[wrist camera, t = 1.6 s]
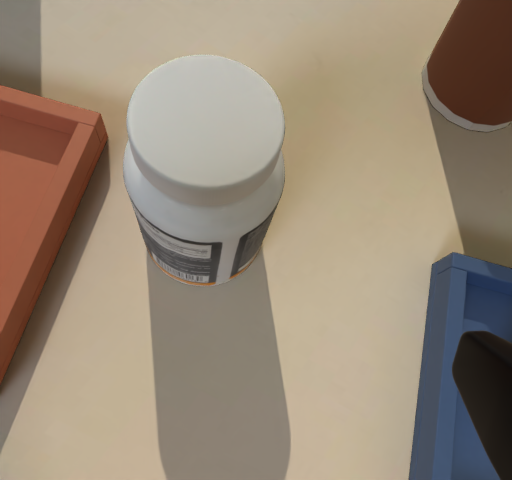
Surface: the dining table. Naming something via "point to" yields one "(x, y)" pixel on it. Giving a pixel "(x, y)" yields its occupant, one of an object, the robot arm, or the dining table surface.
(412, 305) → the dining table surface
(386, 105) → the dining table surface
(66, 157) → the terracotta tray
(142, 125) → the pill bottle
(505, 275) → the blue tray
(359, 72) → the dining table surface
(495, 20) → the coffee cup
